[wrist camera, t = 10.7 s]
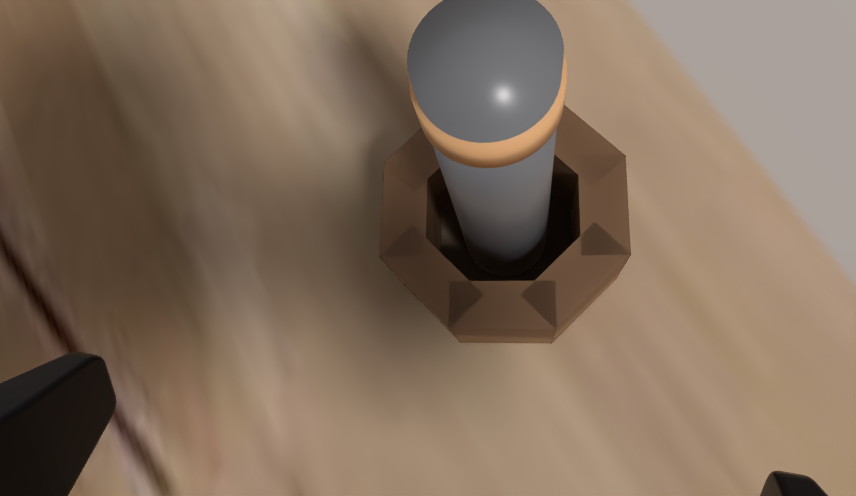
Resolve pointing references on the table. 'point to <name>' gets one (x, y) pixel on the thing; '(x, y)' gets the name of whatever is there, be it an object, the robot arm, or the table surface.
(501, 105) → the grey knob-topped cylinder
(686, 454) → the table surface
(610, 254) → the bead
